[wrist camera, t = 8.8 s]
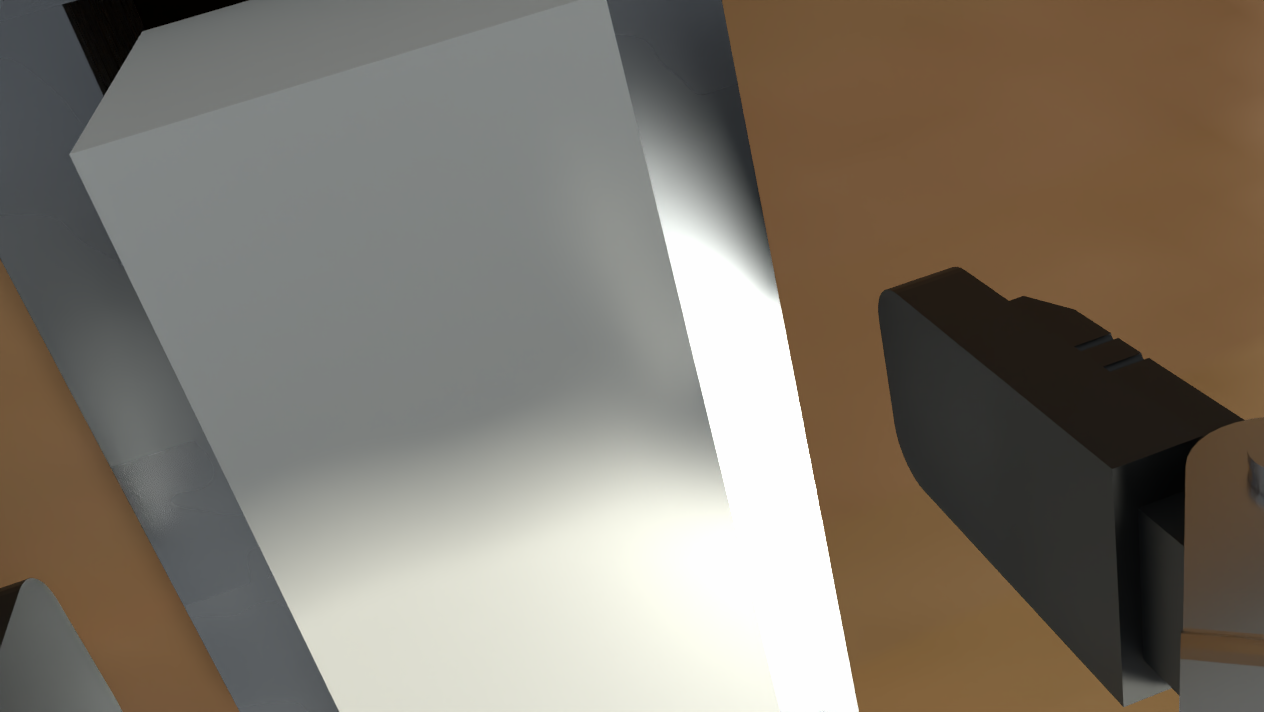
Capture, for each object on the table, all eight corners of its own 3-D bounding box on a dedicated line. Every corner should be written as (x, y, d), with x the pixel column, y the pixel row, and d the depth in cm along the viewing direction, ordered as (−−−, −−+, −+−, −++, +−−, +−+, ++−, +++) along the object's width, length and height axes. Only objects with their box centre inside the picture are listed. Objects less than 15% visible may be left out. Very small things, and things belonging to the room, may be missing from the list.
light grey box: (656, 589, 18) (851, 1002, 12) (452, 665, 18) (542, 1132, 11) (455, -100, 13) (605, -9, 7) (171, -17, 13) (70, 153, 7)
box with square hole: (777, 615, 19) (869, 768, 16) (358, 770, 19) (373, 964, 15) (555, -367, 13) (640, -418, 10) (-107, -199, 12) (-241, -195, 9)
